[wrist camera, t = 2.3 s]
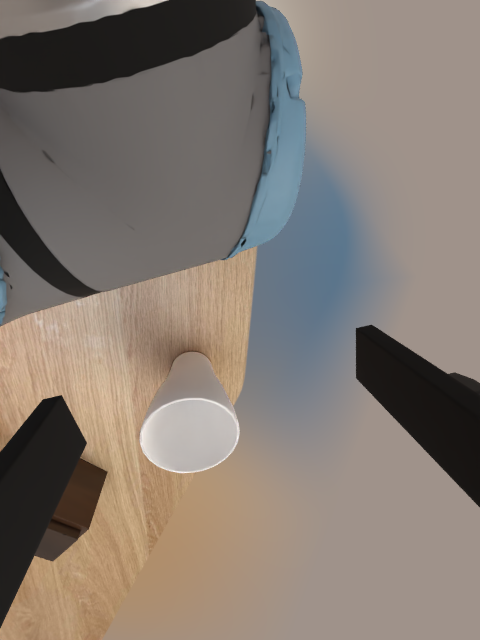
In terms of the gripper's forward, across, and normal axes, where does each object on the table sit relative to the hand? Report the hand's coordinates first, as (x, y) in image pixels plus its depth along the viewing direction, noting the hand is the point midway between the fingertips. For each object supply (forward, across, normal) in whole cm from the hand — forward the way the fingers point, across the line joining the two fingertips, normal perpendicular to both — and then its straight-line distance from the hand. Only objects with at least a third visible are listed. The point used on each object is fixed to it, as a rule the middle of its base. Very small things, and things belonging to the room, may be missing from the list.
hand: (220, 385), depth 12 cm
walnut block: (+26, -28, -29) cm, 48 cm away
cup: (+26, -5, -14) cm, 30 cm away
